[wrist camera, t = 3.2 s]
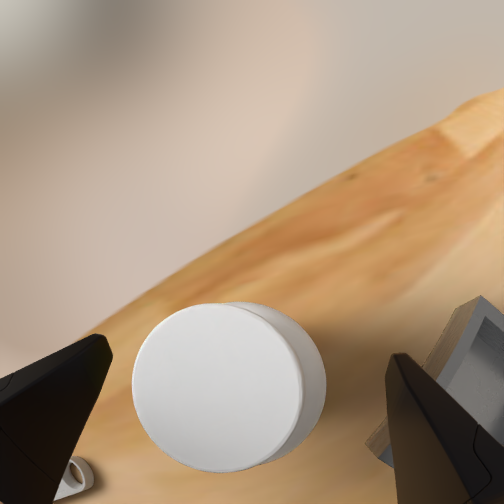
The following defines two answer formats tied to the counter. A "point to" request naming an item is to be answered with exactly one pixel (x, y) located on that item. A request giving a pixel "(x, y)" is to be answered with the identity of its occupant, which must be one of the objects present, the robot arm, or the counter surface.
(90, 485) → the adjustable wrench
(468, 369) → the grey rectangular scoop
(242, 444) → the supplement bottle
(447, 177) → the counter surface
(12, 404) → the robot arm
